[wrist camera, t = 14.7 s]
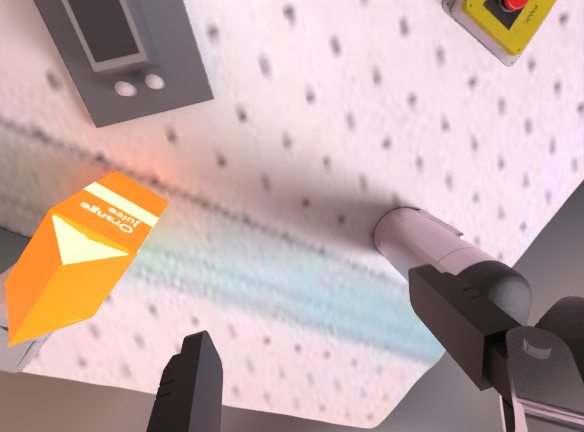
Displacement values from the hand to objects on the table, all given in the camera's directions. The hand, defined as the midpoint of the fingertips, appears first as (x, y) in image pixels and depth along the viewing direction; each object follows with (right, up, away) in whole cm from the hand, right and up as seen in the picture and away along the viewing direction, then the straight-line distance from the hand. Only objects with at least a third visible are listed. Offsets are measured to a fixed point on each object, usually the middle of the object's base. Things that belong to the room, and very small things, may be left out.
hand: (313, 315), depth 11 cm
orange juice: (-24, +5, +28) cm, 37 cm away
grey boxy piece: (-19, +24, +19) cm, 36 cm away
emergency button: (+27, +32, +28) cm, 50 cm away
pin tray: (-19, +25, +21) cm, 38 cm away
